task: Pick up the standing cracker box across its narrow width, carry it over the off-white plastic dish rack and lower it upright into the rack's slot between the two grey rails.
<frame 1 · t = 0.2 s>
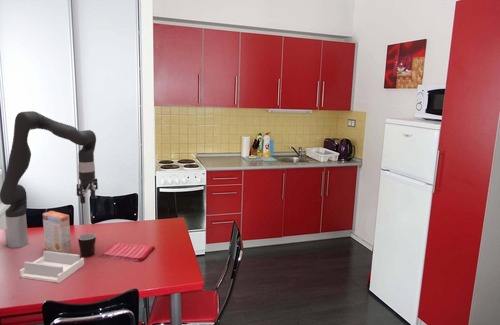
hand: (88, 200, 189), 29 cm above the table, fingers open, 8 cm apart
dish towel: (128, 254, 198), on the table
dish rack: (53, 270, 176), on the table
coffee mug: (89, 253, 195), on the table
cracker box: (58, 251, 196), on the table
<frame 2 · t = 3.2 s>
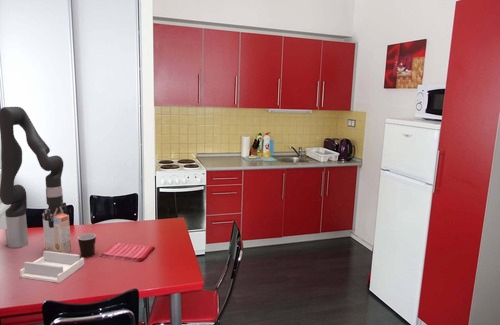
hand: (56, 225, 193), 15 cm above the table, fingers closed on cracker box, 7 cm apart
cracker box: (58, 251, 196), on the table, touching gripper
everything else where it was.
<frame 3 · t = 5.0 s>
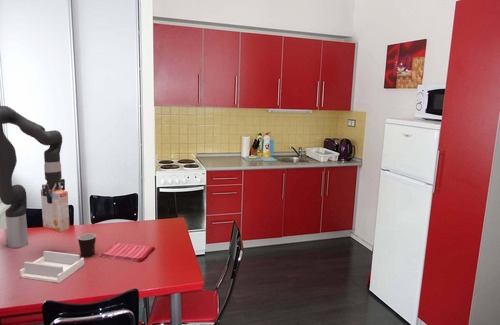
hand: (54, 201, 191), 28 cm above the table, fingers closed on cracker box, 7 cm apart
cracker box: (56, 228, 194), point 13 cm above the table, touching gripper
everything else where it was.
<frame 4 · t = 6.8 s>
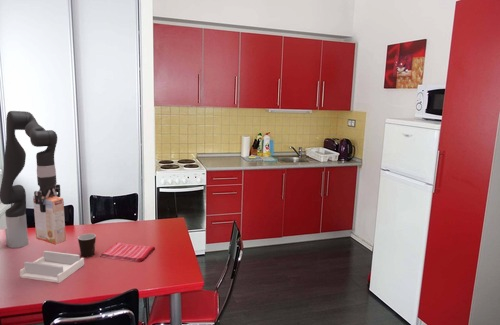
hand: (49, 209, 170), 30 cm above the table, fingers closed on cracker box, 7 cm apart
cracker box: (51, 240, 173), point 15 cm above the table, touching gripper
everything else where it was.
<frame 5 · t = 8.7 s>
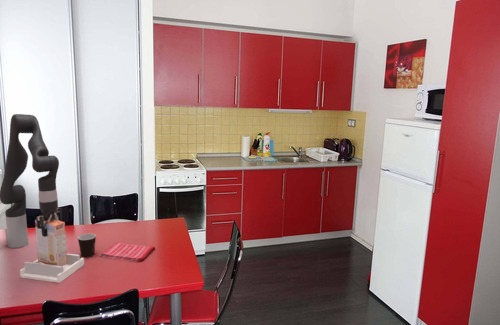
hand: (50, 233, 172), 19 cm above the table, fingers closed on cracker box, 7 cm apart
cracker box: (53, 263, 175), point 4 cm above the table, touching gripper
everything else where it was.
when the fingers open (17 cm above the table, at t = 10.2 s): cracker box drops 1 cm, resting on dish rack.
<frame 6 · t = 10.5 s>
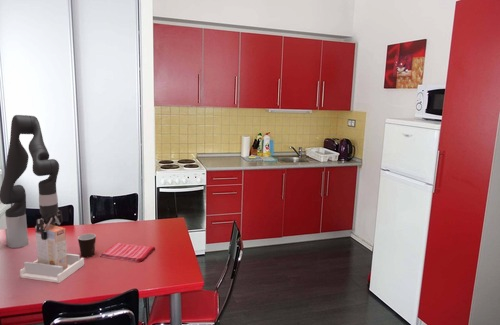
hand: (51, 236, 172), 18 cm above the table, fingers open, 8 cm apart
cracker box: (53, 268, 175), point 1 cm above the table, touching dish rack
everything else where it was.
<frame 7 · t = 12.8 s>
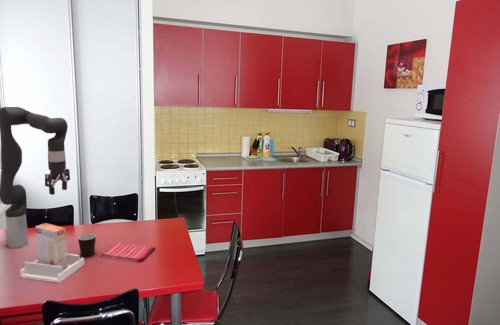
hand: (58, 192, 181), 35 cm above the table, fingers open, 8 cm apart
nothing on the table moved.
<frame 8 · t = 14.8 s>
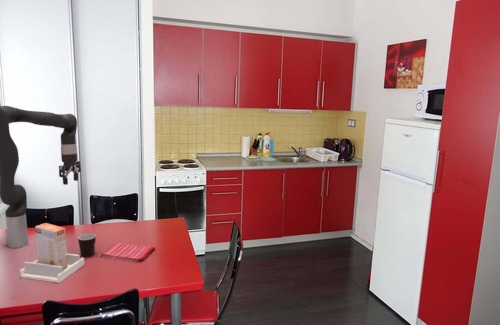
hand: (70, 182, 196), 36 cm above the table, fingers open, 8 cm apart
nothing on the table moved.
at the end: cracker box inside the target area on the dish rack (0.1 cm from its centre), point 1.0 cm above the dish rack's base; cracker box tilted 0°; the gripper is holding nothing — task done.
